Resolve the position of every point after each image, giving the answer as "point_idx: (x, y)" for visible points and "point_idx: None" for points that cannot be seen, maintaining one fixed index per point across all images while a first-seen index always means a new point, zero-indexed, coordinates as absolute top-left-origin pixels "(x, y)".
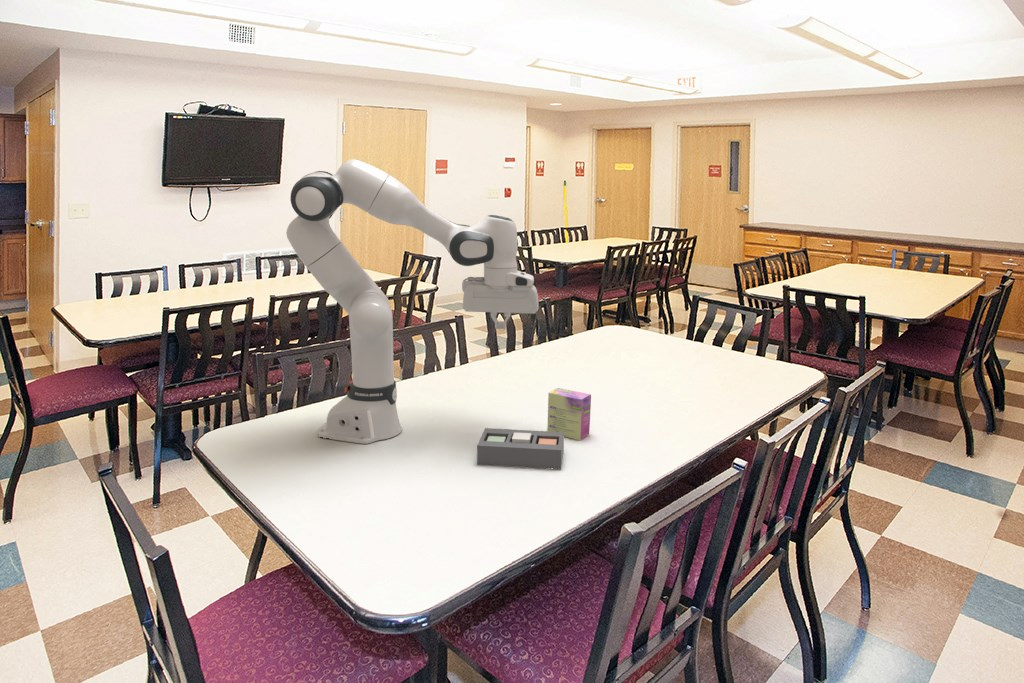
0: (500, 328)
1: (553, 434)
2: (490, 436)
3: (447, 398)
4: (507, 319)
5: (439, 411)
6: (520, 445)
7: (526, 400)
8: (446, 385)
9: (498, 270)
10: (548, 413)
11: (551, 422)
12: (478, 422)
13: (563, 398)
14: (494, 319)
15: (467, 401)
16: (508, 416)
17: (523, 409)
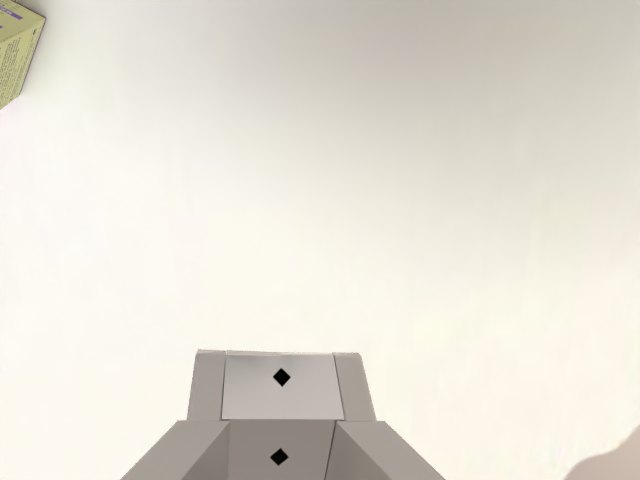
0: (276, 353)
1: None
2: None
3: (468, 350)
4: (135, 472)
5: (503, 236)
6: None
7: (193, 358)
8: (465, 446)
9: None
10: (4, 35)
11: (3, 15)
12: (359, 134)
13: None
14: (394, 464)
15: (401, 331)
16: (244, 205)
17: (193, 277)
